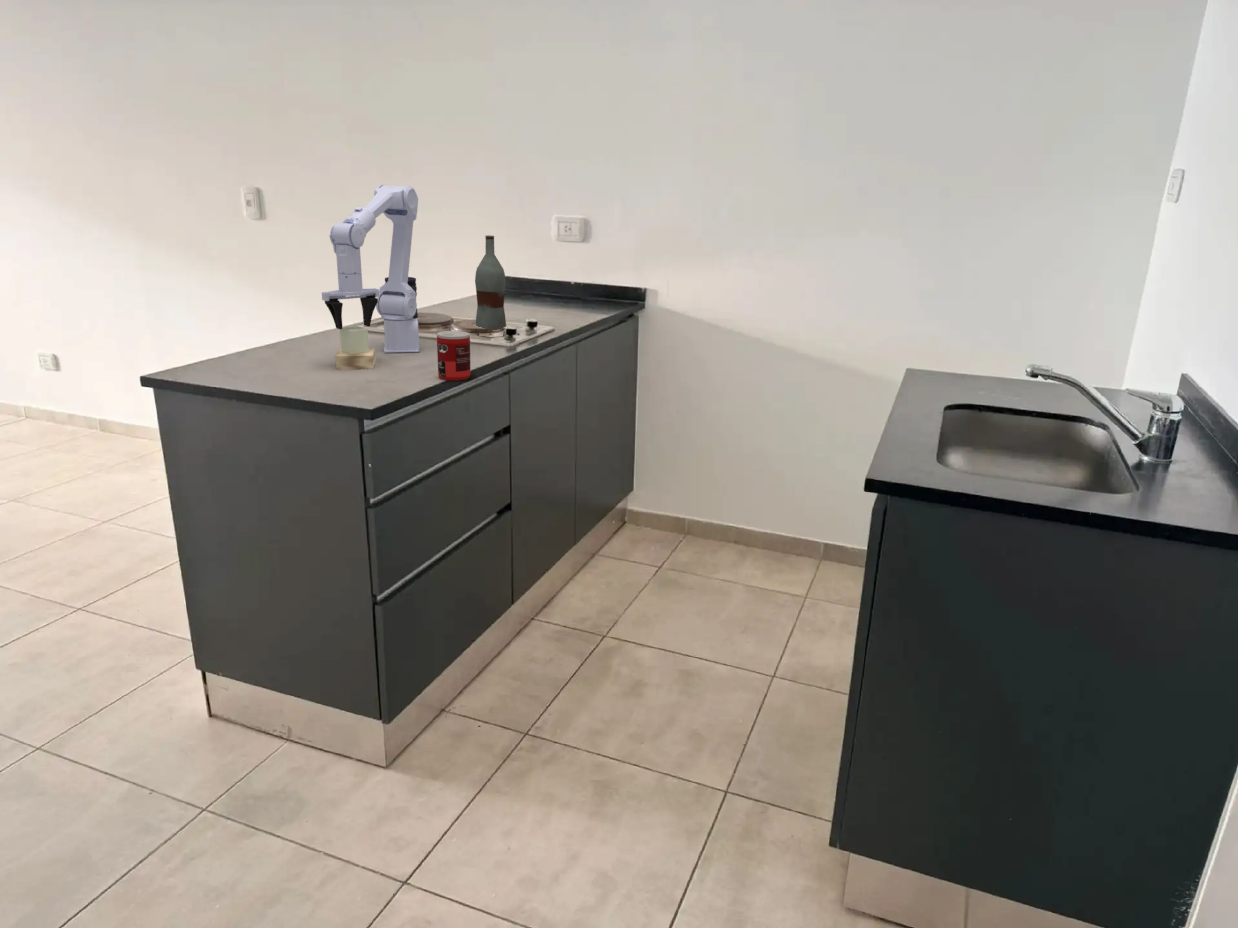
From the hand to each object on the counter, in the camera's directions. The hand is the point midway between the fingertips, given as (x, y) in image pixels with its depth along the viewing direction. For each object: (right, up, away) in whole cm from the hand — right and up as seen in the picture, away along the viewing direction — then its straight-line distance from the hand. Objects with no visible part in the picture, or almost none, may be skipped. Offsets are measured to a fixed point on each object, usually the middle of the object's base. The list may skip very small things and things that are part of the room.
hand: (353, 327), depth 215 cm
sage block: (0, -6, +2) cm, 6 cm away
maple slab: (0, -10, +3) cm, 10 cm away
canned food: (+27, -13, -5) cm, 30 cm away
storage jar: (-2, +10, +58) cm, 59 cm away
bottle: (+28, +5, +48) cm, 56 cm away
